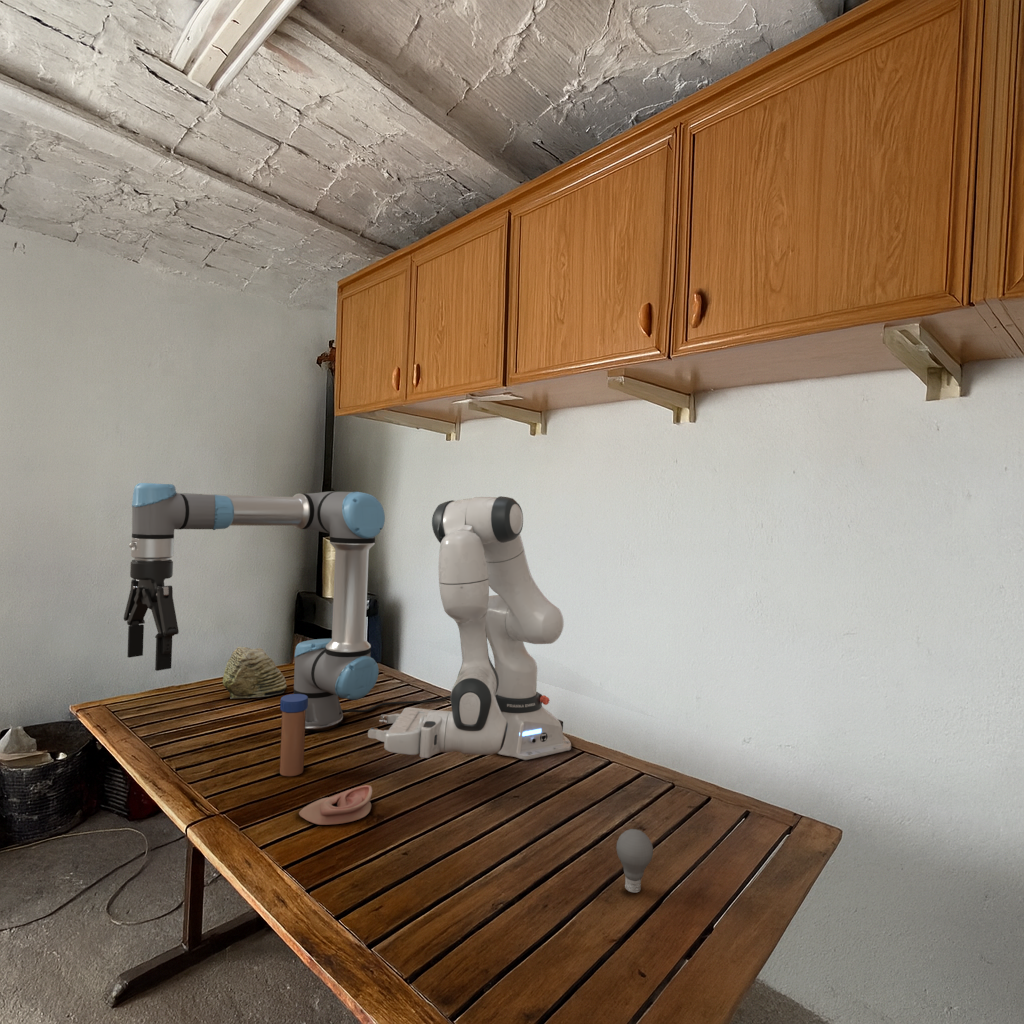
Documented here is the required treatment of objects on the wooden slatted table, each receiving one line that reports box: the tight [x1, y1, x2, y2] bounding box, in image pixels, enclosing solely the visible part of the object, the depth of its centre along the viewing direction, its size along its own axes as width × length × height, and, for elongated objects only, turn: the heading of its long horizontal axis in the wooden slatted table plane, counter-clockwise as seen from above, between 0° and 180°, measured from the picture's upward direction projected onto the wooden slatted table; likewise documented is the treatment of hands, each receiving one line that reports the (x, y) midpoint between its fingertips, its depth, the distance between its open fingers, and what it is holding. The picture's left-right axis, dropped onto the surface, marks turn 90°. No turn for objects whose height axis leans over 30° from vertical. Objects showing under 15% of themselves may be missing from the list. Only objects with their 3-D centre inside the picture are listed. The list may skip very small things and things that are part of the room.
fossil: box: [222, 646, 288, 699], centre depth 198 cm, size 9×18×15 cm, turn 132°
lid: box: [279, 693, 308, 713], centre depth 145 cm, size 6×6×2 cm
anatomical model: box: [298, 784, 373, 826], centre depth 127 cm, size 13×4×12 cm
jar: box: [279, 710, 306, 777], centre depth 145 cm, size 5×5×17 cm
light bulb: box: [615, 828, 654, 894], centre depth 106 cm, size 6×6×10 cm
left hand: (148, 662), depth 129 cm, fingers open, 13 cm apart
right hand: (374, 725), depth 143 cm, fingers open, 8 cm apart
